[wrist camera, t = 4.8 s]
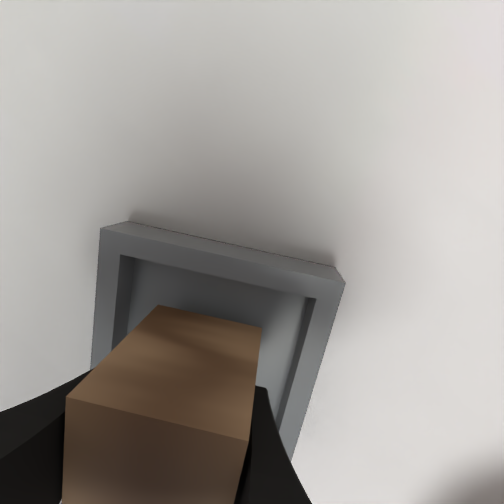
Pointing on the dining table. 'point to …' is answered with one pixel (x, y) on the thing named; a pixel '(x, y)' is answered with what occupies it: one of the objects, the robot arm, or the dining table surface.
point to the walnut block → (164, 414)
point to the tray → (222, 304)
